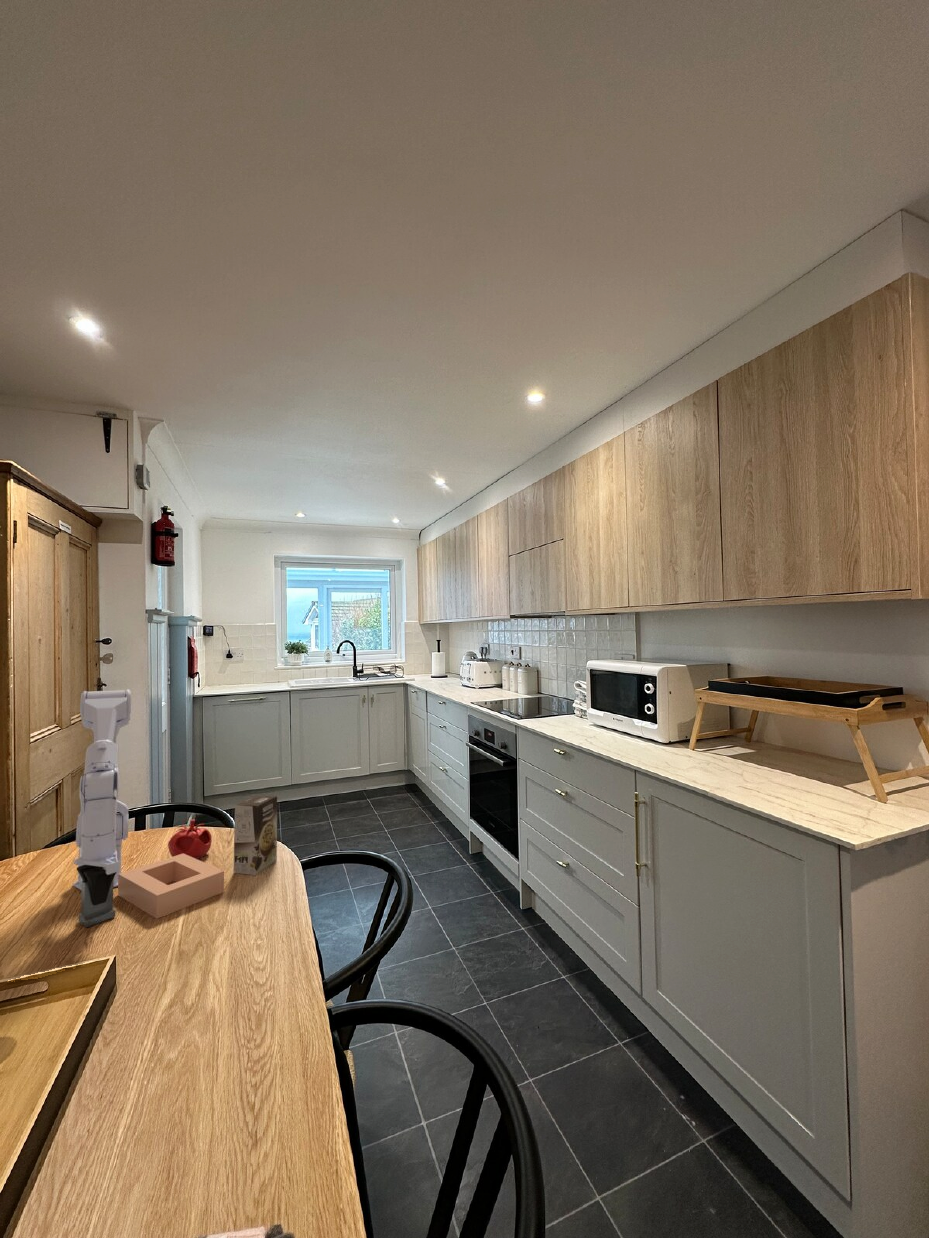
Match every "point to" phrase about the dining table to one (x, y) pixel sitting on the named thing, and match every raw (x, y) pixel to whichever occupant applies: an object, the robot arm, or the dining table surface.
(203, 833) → the red tomato holder
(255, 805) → the coffee box
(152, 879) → the holder block
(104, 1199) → the dining table surface
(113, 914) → the brushed metal prism
